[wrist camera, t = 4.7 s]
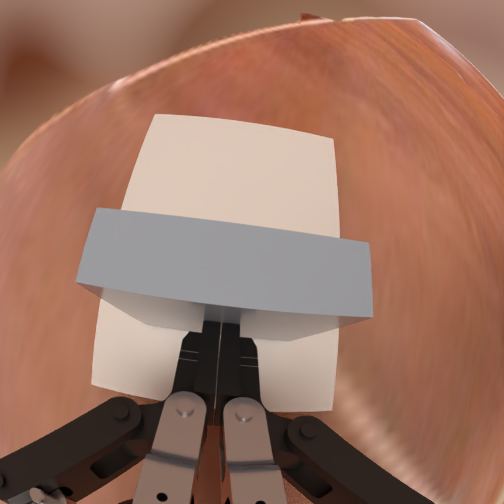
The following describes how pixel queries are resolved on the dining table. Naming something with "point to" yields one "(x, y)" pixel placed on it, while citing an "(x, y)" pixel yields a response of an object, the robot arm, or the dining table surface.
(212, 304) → the tile
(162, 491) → the robot arm
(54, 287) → the dining table surface
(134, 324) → the board
